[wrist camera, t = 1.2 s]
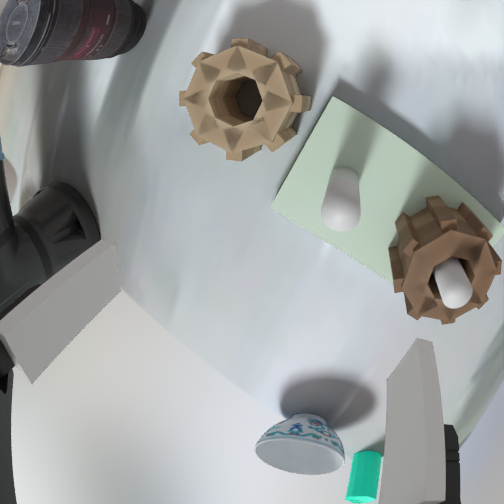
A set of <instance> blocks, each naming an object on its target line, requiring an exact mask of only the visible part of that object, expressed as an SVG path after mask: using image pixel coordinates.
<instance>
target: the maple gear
mask: <svg viewBox="0 0 504 504" xmlns="http://www.w3.org/2000/svg"><path fill="white" fill-rule="evenodd" d="M192 64H193V65H194V66H195V67H196V70H195V72H194V75H193V77H192V79H191V82H190V84H189V87H188V89H187V91H180V98H179V106H186V107H187V109H188V112H189V115H190V118H191V120H192V123H193V126H194V130H193V131H192V132H191V133H190V135H191V136H192V137H193V139H194V140H195V141H196V142H197V143H198V144H199V145H202V144H205V143H207V142H211V143H213V144H215V145H217V146H219V147H220V148H222V149H224V150H226V160H235V161H243V160H244V159H246V158H248V157H249V156H251V155H253V154H254V153H256V152H257V151H259V150H261V145H263V144H265V145H266V146H267V147H268V148H269V149H270V150H271V152H274V151H275V150H276V149H278V148H279V147H281V146H282V145H283V144H285V143H286V142H288V141H289V140H290V139H291V138H293V137H294V136H295V135H297V133H296V132H295V131H294V129H293V128H292V127H291V126H292V124H293V122H294V120H295V118H296V117H297V115H298V113H302V112H306V111H309V110H310V109H311V98H312V96H304V95H301V92H300V89H299V86H298V83H297V80H296V77H295V76H296V75H297V74H298V73H300V72H301V71H302V69H301V68H300V67H299V66H298V65H297V64H296V63H295V62H294V61H293V60H292V59H291V58H289V57H287V56H286V55H284V54H283V53H281V52H280V51H279V52H277V53H276V54H275V55H274V56H273V57H271V58H268V57H267V48H265V47H263V46H261V45H259V44H258V43H256V42H254V41H252V40H250V39H231V48H229V49H227V50H225V51H222V52H220V53H218V54H215V55H214V54H210V53H205V52H201V53H200V54H199V55H198V56H197V58H196V59H195V60H194V61H193V62H192ZM250 79H253V80H255V81H256V83H257V86H258V89H259V92H260V95H261V97H262V100H263V101H262V103H261V105H260V107H259V109H258V111H257V113H256V115H255V117H254V119H252V118H250V117H248V116H246V115H244V114H242V113H241V111H240V109H239V106H238V103H237V100H236V95H237V93H238V90H239V88H240V86H241V84H242V82H244V81H247V80H250Z"/></svg>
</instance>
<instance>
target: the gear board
mask: <svg viewBox="0 0 504 504" xmlns="http://www.w3.org/2000/svg"><path fill="white" fill-rule="evenodd" d="M437 195H439V196H440V198H441V199H442V200H443V202H444V203H445V204H446V205H447V207H451V208H454V209H458V207H459V206H460V205H461V203H462V202H463V203H464V204H465V205H466V206H468V207H469V208H470V209H471V210H472V211H473V212H474V213H475V215H476V216H477V217H478V218H479V219H480V220H481V222H482V223H483V224H484V225H485V226H486V228H487V229H488V230H489V231H490V232H491V234H492V235H493V237H492V238H491V239H490V241H489V243H490V245H491V246H492V248H493V247H494V245H495V244H496V243H497V242H498V240H499V239H500V238H501V236H502V235H503V234H504V227H503V226H502V225H501V224H500V223H499V221H498V220H497V219H496V218H495V217H494V216H493V215H492V214H491V213H490V212H489V211H487V210H486V209H485V208H484V207H483V206H482V205H481V204H480V203H479V202H478V201H477V200H476V199H475V198H474V197H473V196H472V195H470V194H469V193H468V192H467V191H466V190H465V189H464V188H463V187H461V186H460V185H459V184H458V183H457V182H456V181H455V180H453V179H452V178H451V177H450V176H449V175H447V174H446V173H445V172H444V171H443V170H441V169H440V168H439V167H438V166H436V165H435V164H434V163H433V162H431V161H430V160H429V159H428V158H426V157H425V156H424V155H422V154H421V153H420V152H418V151H417V150H416V149H414V148H413V147H412V146H410V145H409V144H407V143H406V142H405V141H403V140H402V139H400V138H399V137H398V136H396V135H395V134H393V133H392V132H390V131H389V130H387V129H386V128H384V127H383V126H381V125H380V124H378V123H377V122H375V121H374V120H372V119H371V118H369V117H367V116H366V115H364V114H363V113H361V112H359V111H358V110H356V109H354V108H353V107H351V106H349V105H348V104H346V103H344V102H343V101H341V100H339V99H337V98H336V97H334V96H332V98H331V100H330V101H329V103H328V105H327V107H326V109H325V110H324V112H323V114H322V116H321V117H320V119H319V121H318V123H317V124H316V126H315V128H314V130H313V132H312V133H311V135H310V137H309V139H308V140H307V142H306V144H305V146H304V148H303V149H302V151H301V153H300V155H299V156H298V158H297V160H296V162H295V164H294V165H293V167H292V169H291V171H290V173H289V174H288V176H287V178H286V180H285V181H284V183H283V185H282V187H281V189H280V190H279V192H278V194H277V196H276V198H275V199H274V201H273V203H272V205H271V207H270V208H271V209H273V210H274V211H276V212H278V213H279V214H281V215H283V216H284V217H286V218H288V219H289V220H291V221H293V222H295V223H296V224H298V225H300V226H301V227H303V228H304V229H306V230H308V231H309V232H311V233H313V234H314V235H316V236H318V237H319V238H321V239H323V240H324V241H326V242H327V243H329V244H331V245H332V246H334V247H335V248H337V249H339V250H340V251H342V252H344V253H345V254H347V255H348V256H350V257H351V258H353V259H355V260H356V261H358V262H359V263H361V264H362V265H364V266H366V267H367V268H369V269H370V270H372V271H373V272H375V273H376V274H378V275H380V276H381V277H383V278H384V279H386V280H387V281H389V282H390V283H392V284H393V278H392V271H391V265H390V258H389V251H388V247H394V246H397V244H398V240H399V236H398V233H397V229H396V226H395V222H396V220H397V219H398V218H399V216H400V215H401V213H402V212H404V213H405V214H406V215H408V216H409V217H411V216H413V215H414V214H416V213H418V212H419V211H421V210H422V209H424V208H426V207H427V204H426V197H431V196H437ZM433 274H434V277H435V279H436V282H437V285H438V288H439V291H440V295H441V298H442V301H443V303H444V305H445V306H447V307H449V308H459V307H462V306H464V305H465V304H466V303H467V302H468V301H469V300H470V298H471V296H472V292H473V289H472V286H471V284H470V282H469V279H468V277H467V275H466V273H465V271H464V269H463V267H462V265H461V263H460V261H459V259H458V257H453V256H451V257H449V258H448V259H446V260H444V261H443V262H441V263H439V264H437V265H436V266H434V268H433ZM393 285H394V284H393Z"/></svg>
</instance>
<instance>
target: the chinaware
mask: <svg viewBox="0 0 504 504" xmlns="http://www.w3.org/2000/svg"><path fill="white" fill-rule="evenodd" d="M254 450H255V453H256V455H257V456H258V457H259V458H260V459H261V460H262V461H263V462H265V463H267V464H268V465H271V466H273V467H275V468H277V469H280V470H283V471H287V472H291V473H297V474H305V475H321V474H328V473H332V472H335V471H337V470H339V469H340V468H342V467H343V465H344V463H345V455H344V449H343V445H342V442H341V440H340V438H339V437H338V435H337V434H336V433H335V431H334V430H333V429H332V428H330V427H329V426H328V425H327V423H326V421H325V420H324V419H323V418H321V417H319V416H317V415H313V414H307V413H301V414H296V415H293V416H292V417H291V418H290V419H287V420H284V421H282V422H280V423H278V424H276V425H274V426H273V427H271V428H270V429H269V430H268V431H267V432H265V433H264V435H263V436H262V437H261V438H260V439H259V441H258V442H257V444H256V446H255V449H254Z"/></svg>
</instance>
